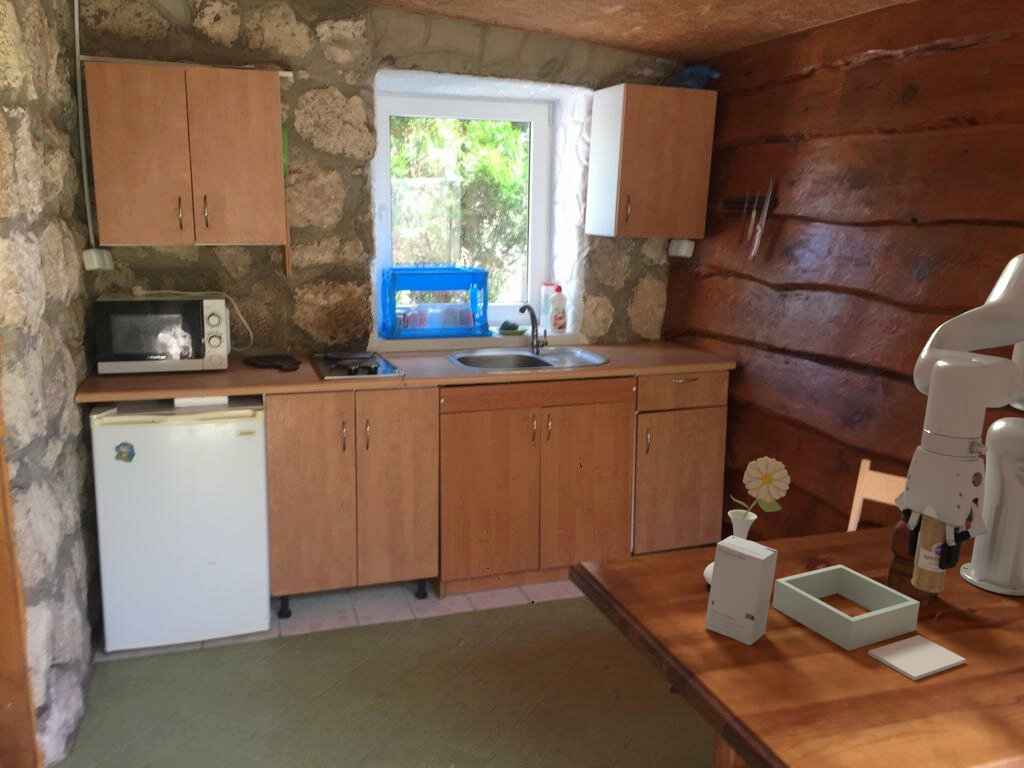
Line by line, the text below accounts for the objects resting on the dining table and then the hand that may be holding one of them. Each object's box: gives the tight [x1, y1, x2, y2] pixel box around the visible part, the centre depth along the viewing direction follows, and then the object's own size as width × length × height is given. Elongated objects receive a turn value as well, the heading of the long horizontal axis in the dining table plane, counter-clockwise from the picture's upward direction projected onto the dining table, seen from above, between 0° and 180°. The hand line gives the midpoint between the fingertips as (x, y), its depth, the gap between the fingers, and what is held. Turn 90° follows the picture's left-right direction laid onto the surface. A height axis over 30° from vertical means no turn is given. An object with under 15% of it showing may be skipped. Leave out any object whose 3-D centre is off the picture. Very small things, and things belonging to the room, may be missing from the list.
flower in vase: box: [703, 456, 791, 586], centre depth 147 cm, size 13×11×25 cm
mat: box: [867, 634, 966, 681], centre depth 128 cm, size 12×8×1 cm, turn 118°
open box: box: [771, 563, 920, 652], centre depth 140 cm, size 16×16×5 cm
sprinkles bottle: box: [911, 506, 948, 593], centre depth 124 cm, size 5×5×13 cm
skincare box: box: [704, 534, 779, 646], centre depth 133 cm, size 8×6×15 cm
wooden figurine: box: [886, 512, 939, 609], centre depth 147 cm, size 12×6×18 cm, turn 130°
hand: (931, 560), depth 125 cm, fingers closed on sprinkles bottle, 4 cm apart
